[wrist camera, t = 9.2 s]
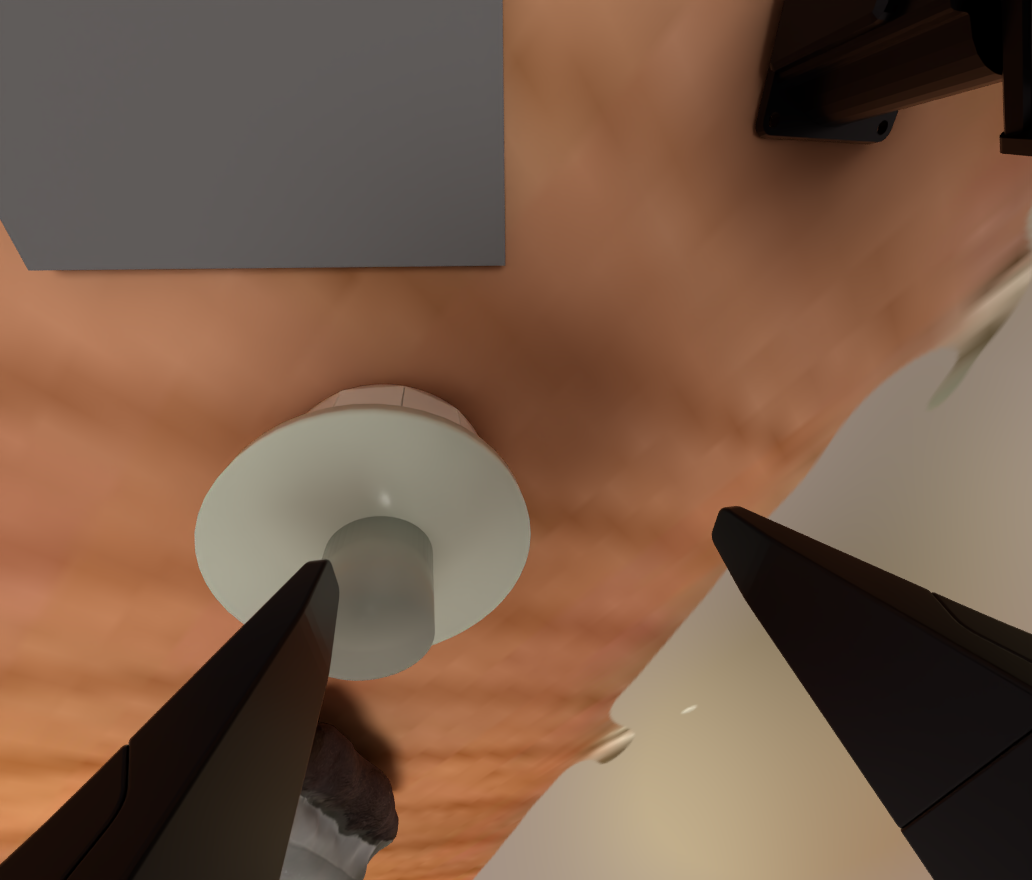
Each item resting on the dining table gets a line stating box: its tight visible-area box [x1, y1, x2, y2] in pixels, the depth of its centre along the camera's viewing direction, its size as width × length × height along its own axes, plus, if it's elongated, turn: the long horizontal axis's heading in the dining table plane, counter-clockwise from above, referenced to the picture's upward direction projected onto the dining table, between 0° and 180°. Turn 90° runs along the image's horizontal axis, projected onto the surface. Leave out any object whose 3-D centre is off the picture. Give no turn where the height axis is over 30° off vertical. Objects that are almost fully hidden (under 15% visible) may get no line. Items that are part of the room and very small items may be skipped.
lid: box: [195, 404, 531, 681], centre depth 14 cm, size 12×12×4 cm
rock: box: [280, 723, 398, 880], centre depth 27 cm, size 18×11×8 cm, turn 10°
